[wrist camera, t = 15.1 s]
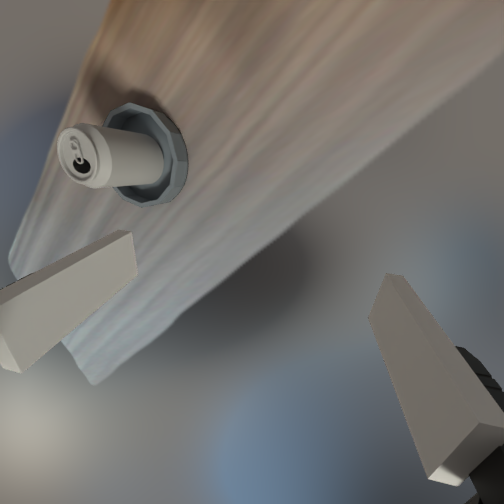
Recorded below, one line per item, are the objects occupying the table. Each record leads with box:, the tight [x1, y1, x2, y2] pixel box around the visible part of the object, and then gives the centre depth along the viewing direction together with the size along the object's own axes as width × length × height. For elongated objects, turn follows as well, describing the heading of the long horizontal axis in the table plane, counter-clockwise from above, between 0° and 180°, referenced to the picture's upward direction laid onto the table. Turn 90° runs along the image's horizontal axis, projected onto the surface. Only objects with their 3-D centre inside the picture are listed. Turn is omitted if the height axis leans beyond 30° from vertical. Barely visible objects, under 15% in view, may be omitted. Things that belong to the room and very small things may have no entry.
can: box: [57, 123, 164, 188], centre depth 33 cm, size 8×8×12 cm
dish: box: [102, 102, 188, 208], centre depth 38 cm, size 14×14×3 cm
